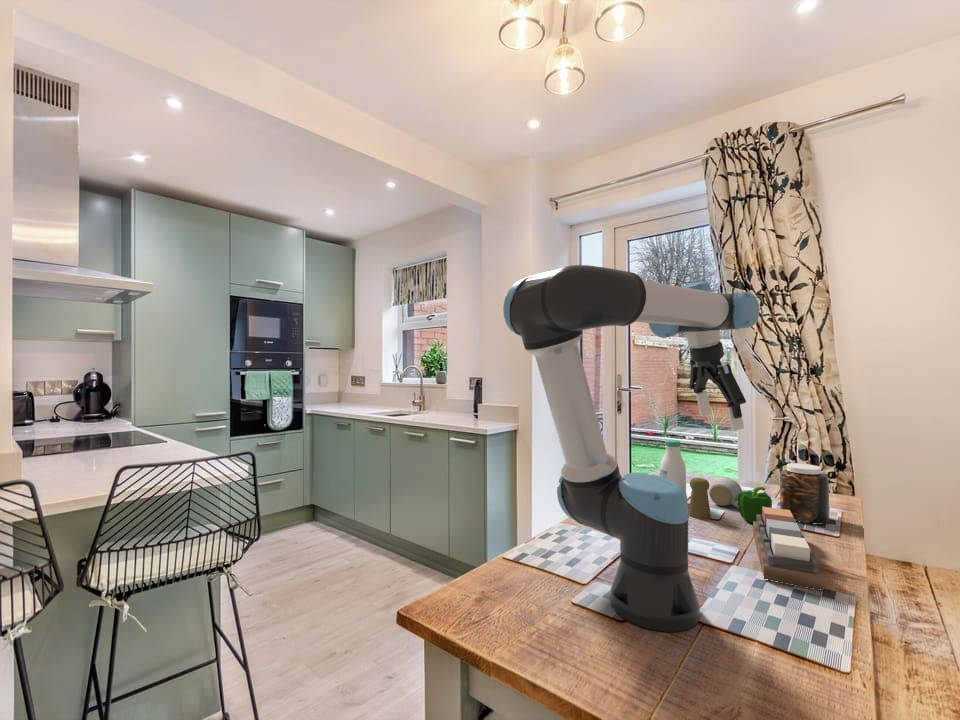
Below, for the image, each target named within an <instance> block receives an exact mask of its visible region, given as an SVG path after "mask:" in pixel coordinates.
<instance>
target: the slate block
mask: <svg viewBox="0 0 960 720" xmlns="http://www.w3.org/2000/svg"><path fill="white" fill-rule="evenodd" d="M797 524H798V522H797V523H794V522H786V521H778V520H771V519H766V531H767V535H768V538H770V539H771V533H772V534H779V535H786V536H792V537H799V538H801V533H802V530H801V528H800V526H799V524H798V525H797ZM798 526H799V527H798ZM799 528H800V529H799Z"/></svg>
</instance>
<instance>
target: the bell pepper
mask: <svg viewBox="0 0 960 720" xmlns="http://www.w3.org/2000/svg"><path fill="white" fill-rule="evenodd" d="M765 490H766V487H765V486H757V487H754V488H753V491H752V490H750V489H749V490H746V491H745V490H742V491H740V492H739V494H738V501H737V502H738V506H739V508H738V509H739V513H740V516H741V517H742V519H744V520H745V521H746V522H747V523H750V524H751V523H752V524H753V521H757V514H759V515H762V507H769V508H773V507H772V506H773V500H772V498H771V496H770V495H768V493H766V492H764V491H765ZM759 491H763V492H759Z"/></svg>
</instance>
